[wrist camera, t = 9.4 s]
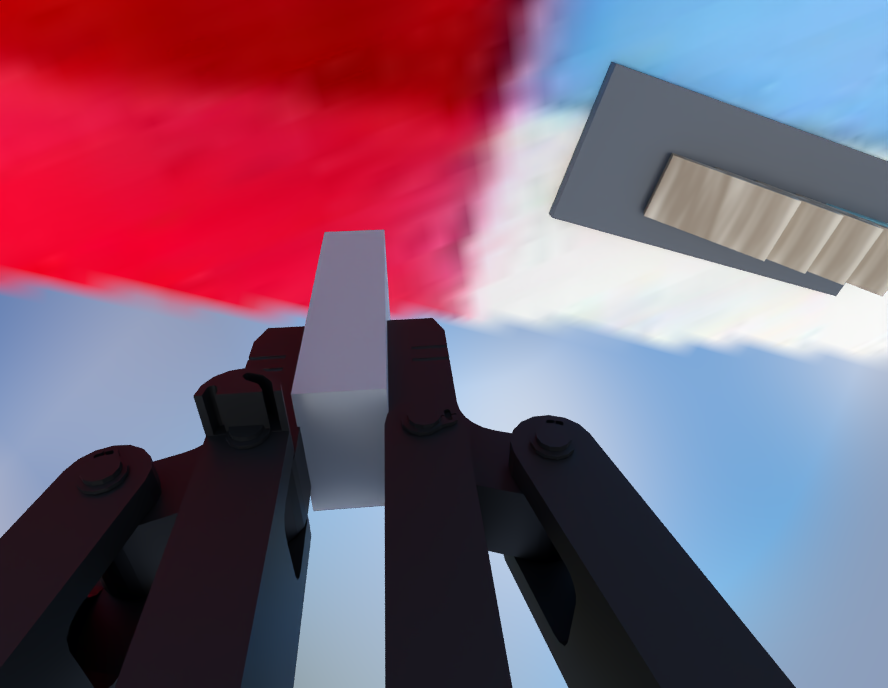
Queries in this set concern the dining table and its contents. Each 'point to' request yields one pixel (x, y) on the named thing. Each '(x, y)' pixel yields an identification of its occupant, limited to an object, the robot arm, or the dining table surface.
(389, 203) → the dining table surface
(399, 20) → the dining table surface
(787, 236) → the domino
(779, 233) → the domino
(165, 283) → the dining table surface
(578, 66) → the dining table surface
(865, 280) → the domino
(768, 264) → the mat
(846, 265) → the domino
